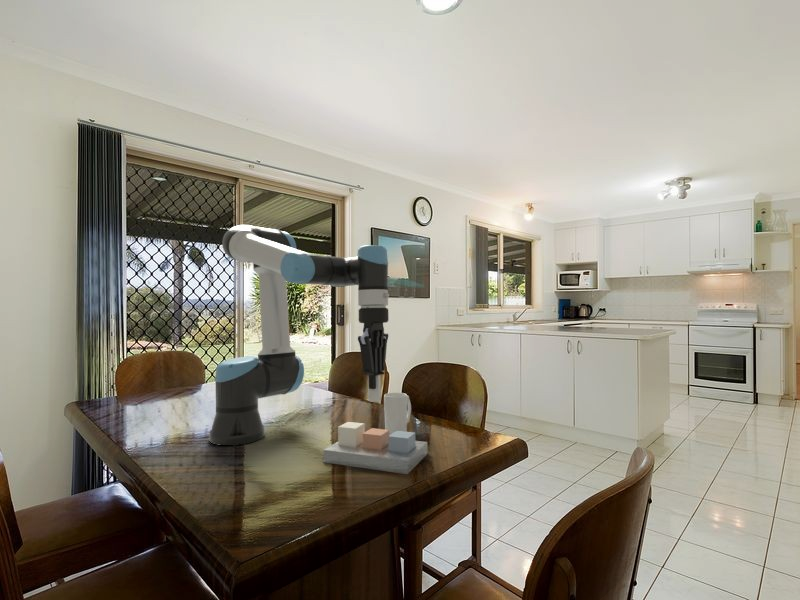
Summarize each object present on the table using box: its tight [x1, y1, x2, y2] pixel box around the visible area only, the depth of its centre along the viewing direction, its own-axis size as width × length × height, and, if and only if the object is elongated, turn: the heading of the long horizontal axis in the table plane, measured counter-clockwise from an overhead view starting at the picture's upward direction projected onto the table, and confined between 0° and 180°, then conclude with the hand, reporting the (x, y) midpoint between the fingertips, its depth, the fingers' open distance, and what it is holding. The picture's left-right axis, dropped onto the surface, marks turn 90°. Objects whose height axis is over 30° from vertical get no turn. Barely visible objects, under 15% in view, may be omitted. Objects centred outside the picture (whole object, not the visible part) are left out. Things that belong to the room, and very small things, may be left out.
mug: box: [383, 392, 412, 436], centre depth 121 cm, size 10×7×12 cm, turn 137°
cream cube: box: [337, 421, 366, 447], centre depth 104 cm, size 5×5×5 cm
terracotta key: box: [363, 427, 389, 451], centre depth 102 cm, size 5×5×5 cm
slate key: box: [389, 431, 416, 454], centre depth 99 cm, size 5×5×5 cm
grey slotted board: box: [322, 440, 428, 475], centre depth 101 cm, size 22×14×3 cm, turn 68°
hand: (374, 401), depth 102 cm, fingers closed
